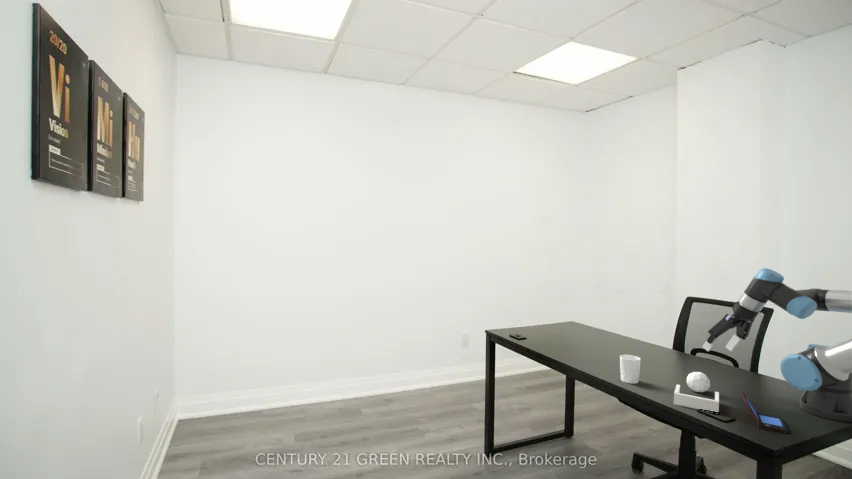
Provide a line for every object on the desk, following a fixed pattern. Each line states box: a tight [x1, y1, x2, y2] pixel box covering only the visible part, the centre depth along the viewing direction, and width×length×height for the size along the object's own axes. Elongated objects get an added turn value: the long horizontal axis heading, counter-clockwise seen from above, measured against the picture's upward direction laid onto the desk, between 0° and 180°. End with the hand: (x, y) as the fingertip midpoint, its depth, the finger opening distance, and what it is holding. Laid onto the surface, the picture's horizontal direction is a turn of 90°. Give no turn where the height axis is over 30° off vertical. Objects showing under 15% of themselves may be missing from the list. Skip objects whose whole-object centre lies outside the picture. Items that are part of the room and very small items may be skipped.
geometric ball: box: [686, 371, 711, 393], centre depth 165 cm, size 8×8×8 cm
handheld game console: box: [742, 392, 789, 434], centre depth 139 cm, size 12×11×7 cm
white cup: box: [619, 354, 642, 385], centre depth 176 cm, size 8×8×10 cm
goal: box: [673, 384, 720, 412], centre depth 153 cm, size 11×13×4 cm
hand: (717, 349), depth 166 cm, fingers open, 13 cm apart
